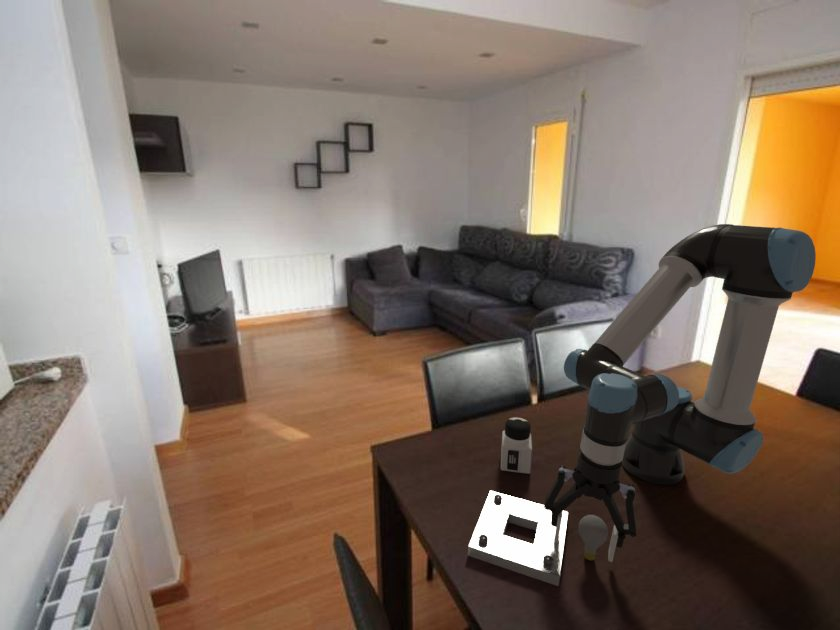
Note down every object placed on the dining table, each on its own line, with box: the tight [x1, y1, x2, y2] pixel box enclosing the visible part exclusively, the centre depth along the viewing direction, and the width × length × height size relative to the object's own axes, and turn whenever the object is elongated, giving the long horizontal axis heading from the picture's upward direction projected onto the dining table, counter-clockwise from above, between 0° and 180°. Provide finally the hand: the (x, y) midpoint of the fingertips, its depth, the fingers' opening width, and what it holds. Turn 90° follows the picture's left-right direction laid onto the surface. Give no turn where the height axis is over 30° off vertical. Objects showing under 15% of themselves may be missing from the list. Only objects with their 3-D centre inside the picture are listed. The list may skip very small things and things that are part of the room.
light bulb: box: [577, 514, 609, 561], centre depth 86 cm, size 6×6×10 cm
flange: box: [467, 490, 569, 587], centre depth 92 cm, size 18×18×3 cm
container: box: [500, 417, 533, 474], centre depth 115 cm, size 8×8×13 cm
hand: (582, 547), depth 87 cm, fingers open, 10 cm apart
